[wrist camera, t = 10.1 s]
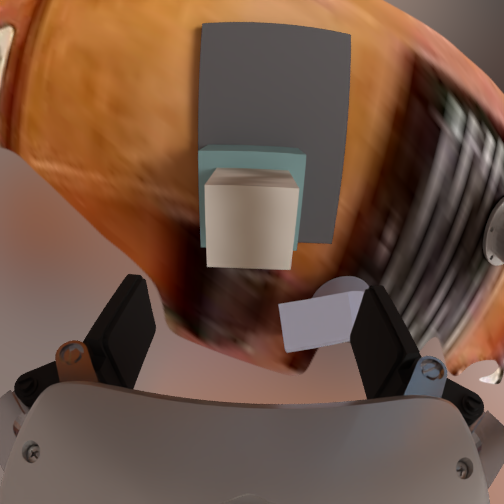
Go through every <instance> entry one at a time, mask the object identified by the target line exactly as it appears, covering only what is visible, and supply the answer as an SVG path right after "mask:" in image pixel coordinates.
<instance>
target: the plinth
mask: <svg viewBox="0 0 504 504" xmlns="http://www.w3.org/2000/svg"><path fill="white" fill-rule="evenodd" d="M305 166H306V154H305V153H303V152H302V151H301V150H299V149H298V148H290V147H275V146H254V145H207V146H205V147H204V148H202V149H200V150H199V151H198V180H199V215H200V238H201V247H206V225H205V184H206V182H207V181H208V179H209V178H210V177H211V175H212V174H213V172H214V171H215V170H216V168H251V169H273V170H289V172H290V174H291V175H292V177H293V179H294V180H295V182H296V184H297V185H298V187H299V198H298V208H297V217H296V227H295V236H294V244H293V251H297V243H298V235H299V226H300V217H301V208H302V198H303V188H304V177H305Z"/></svg>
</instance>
